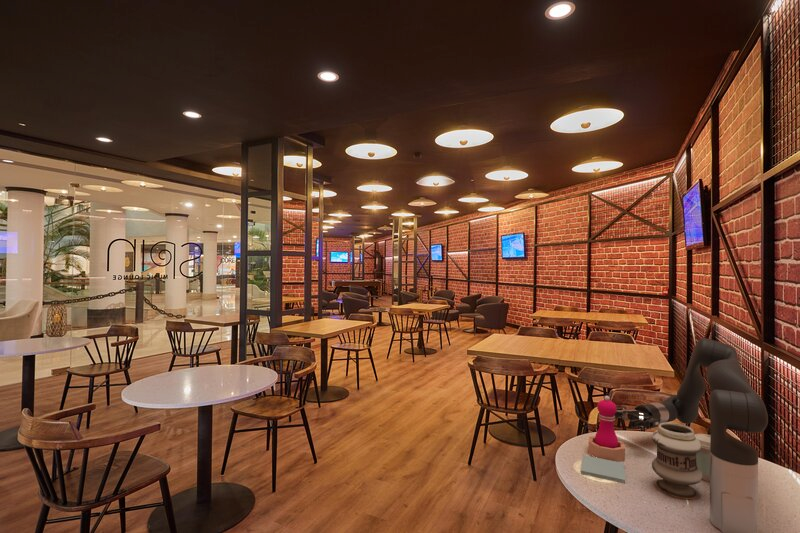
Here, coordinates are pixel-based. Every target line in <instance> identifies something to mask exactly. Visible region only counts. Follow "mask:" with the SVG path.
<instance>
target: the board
mask: <svg viewBox="0 0 800 533" xmlns="http://www.w3.org/2000/svg"><path fill="white" fill-rule="evenodd" d="M580 474H581V475H585V476H590V477H594V478H598V479H603V480H608V481H613V482H617V483H620V484H621V483H622V484H626V474H625V464H624V462H622V461H619V462H616V461H611V460H606V459H601V458H596V457H594V456H592V455H590V456H589V455H586V454H585V455H584V454H582V461H581V467H580Z"/></svg>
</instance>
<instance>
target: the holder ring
mask: <svg viewBox="0 0 800 533" xmlns="http://www.w3.org/2000/svg"><path fill="white" fill-rule="evenodd" d="M595 436H596V435H593V436H588V445H587V446H588V447H587V448H588V454H589V455H590V454H591V455H590V456H592V455H593V456H592V457H594V456H595V457H597V458H601V459H606V460H611V461H616V462H618V461H619V462H624V460H625V461H626V447H625V446H626V445H625V442H622V440H619V439H618V447H617V448H608V447H602V446H599V445H597V444H596V443H595Z"/></svg>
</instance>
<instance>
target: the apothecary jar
mask: <svg viewBox="0 0 800 533" xmlns="http://www.w3.org/2000/svg"><path fill="white" fill-rule="evenodd" d="M657 428H658V429H656V430H655V431H654V432H653V433H652V434H651V435H652V436H651V437H652V438H651V439H652V441H653V443H654V444H655V445H656V456H655V458H654V459H652V461H651V468H652V470H653V472H654V473H655V474H656V475H657V476H658V477H660V478H661V479H658V480H657V481H656V482H655V486H656V488H657V489H658V490H659V491H661V492H663V493H666V495H669V496H672V497H674V498H677V499H681V500H682V499H684V500H692V499H695V498H697V496H698V494H697V491H696V490H695V489H694V488H693V487H692V486H695V485H696V484H699V483H700V482H702V480H703V479H702V473H701V471H700V469H699V468H698V467H697V463H696V453H697V452H699V451H700V450H701V443H700V441H699V440H698V439H697V438H696V437H695V431H694V429H693V428H691V427H690V426H687V425H685V424H683V423H682V424H681V423H676V422H665V423H661V424H659V425H658V427H657Z"/></svg>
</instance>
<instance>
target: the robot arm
mask: <svg viewBox="0 0 800 533" xmlns="http://www.w3.org/2000/svg"><path fill="white" fill-rule="evenodd" d="M700 366H703V367H706V371H705V378H706V380H707V384H708V386H709V388H710V389H711V392H710V395H709V400H708V402H709V403H708V404H709V405H708V406H709V407H708V408H709V421H710V422H709V423H710V435H711V441H710V482H709V522H710V523H711V524H712V525H713V526H714V527H716V528H717V529H718V530H720V531H721V533H758V526H759V525H758V523H759V522H758V515H759V514H758V511H759V510H758V508H759V506H758V505H759V502H758V500H759V499H758V498H759V496H758V495H759V454H758V450H757V449H756V448H755V447H753V446H752V445H750V444H748V443H747V442H744V441H742V440H740V439H738V438H736V437H734V436H733V435H731V434H730V433H728V432H727V430H732V431H737V432H743V433H744V432H745V433H750V434H758V433H759V434H760V433H762V432H764V431H765V430H766V428H767V427H768V424H769V414H768V411H767V408H766V404H765V403H764V400H763V399H762V398H761V396H760V395H759V394H758V393H757V391H755V390H754V388H753V387H752V385H751V384H750V381H749V379H748V378H747V375H746V374H745V372H744V370H743V368H742V366H741V365H740V362H739V356H738V353H737V350H736V349H735V347H733V346H731V345H729V344H726V343H723V342H721V341H716V340H714V339H710V338H705V337H702V338H700V339H698V341H697V342H696V344H695V345H694V348H693V350H692V353H691V356H690V359H689V362H688V365H687V368H686V371H685V375H684V378H683V380H682V382H681V384H680V385H679V388H678V390H677V391H676V394H672V395H670V396H668V398H667V399H666V400H663V401H660V402H650V403H643V404H638V405H636V407H634V409H627V407H625V406H620V407H616V408H617V411H616V413H615V414H614V416H615V419H623V420H624V421H630V422H629V423H630V424H629V426H630V428H633V429H634V428H639V427H641V428H645V429H646V430H651V429H654V428H659V425H660V424H661V423H671V422H673V421H676V420H678V421H679V422H680V423H682V424H684V425H685V424H686V425H688V424H692V423H694V422H695V421H696V420H697V418H698V415H699V409H700V401H701V399H702V398H703V396H704V395H705V393H706V389H707V387H706V382H705V379H704V377H703V375H702V373H701V369H700ZM626 414H627V415H626Z"/></svg>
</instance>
